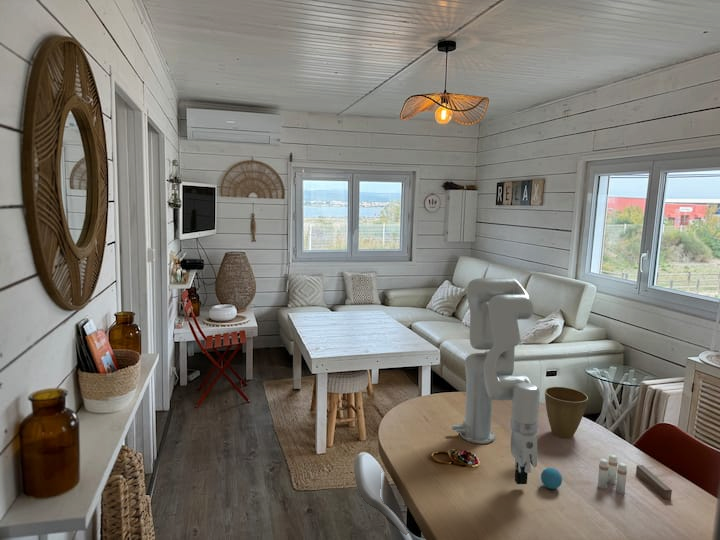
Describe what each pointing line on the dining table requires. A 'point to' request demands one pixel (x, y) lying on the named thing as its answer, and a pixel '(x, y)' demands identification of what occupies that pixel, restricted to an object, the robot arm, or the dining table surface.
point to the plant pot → (564, 410)
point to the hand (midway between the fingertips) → (520, 482)
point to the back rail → (654, 482)
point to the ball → (551, 478)
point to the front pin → (603, 473)
